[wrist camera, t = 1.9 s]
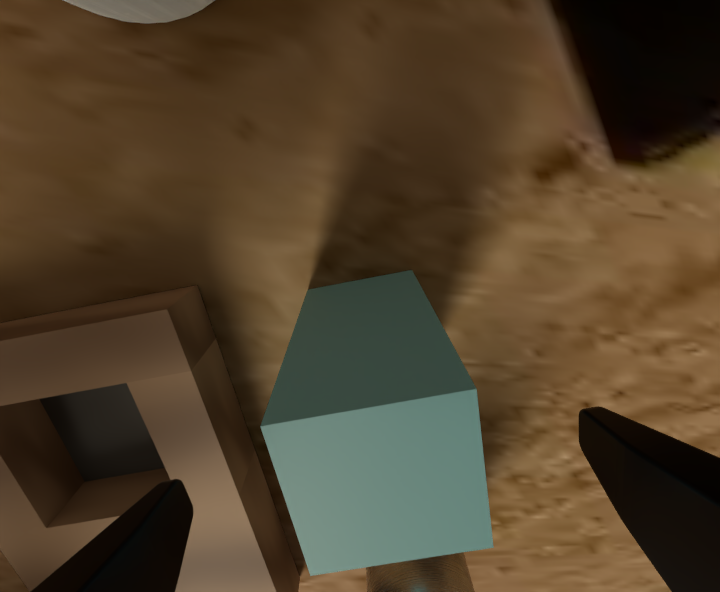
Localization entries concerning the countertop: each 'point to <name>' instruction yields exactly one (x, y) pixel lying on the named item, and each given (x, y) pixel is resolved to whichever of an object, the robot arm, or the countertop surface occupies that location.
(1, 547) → the socket board
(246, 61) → the countertop surface
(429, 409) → the square peg
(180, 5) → the ramekin
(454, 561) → the round peg
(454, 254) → the countertop surface
